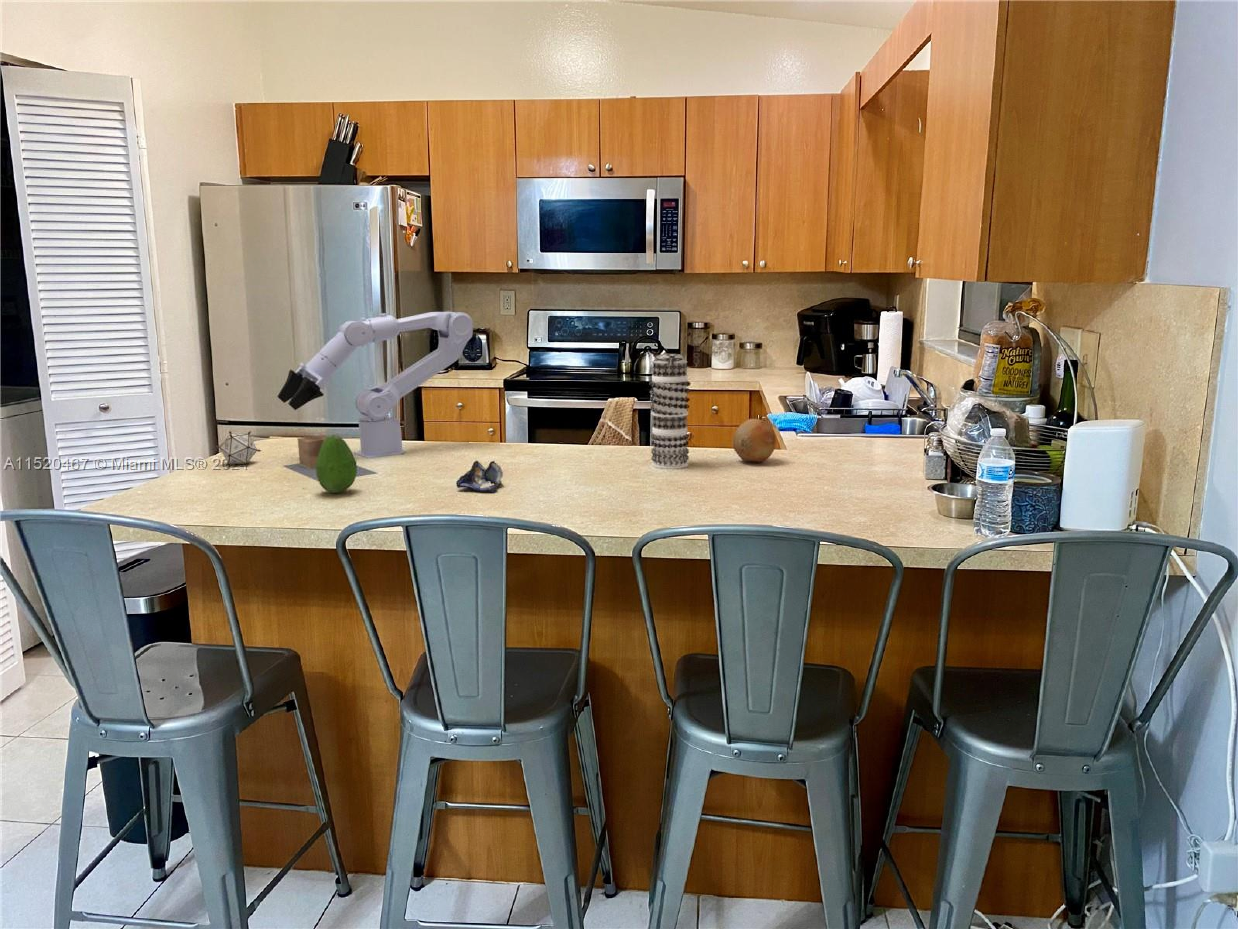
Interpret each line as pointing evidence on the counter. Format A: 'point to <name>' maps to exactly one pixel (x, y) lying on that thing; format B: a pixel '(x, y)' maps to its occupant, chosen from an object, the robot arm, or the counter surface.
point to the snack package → (481, 477)
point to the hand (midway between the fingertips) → (286, 403)
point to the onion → (754, 440)
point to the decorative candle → (669, 411)
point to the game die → (238, 448)
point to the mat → (312, 472)
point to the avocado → (335, 465)
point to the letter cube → (310, 450)
